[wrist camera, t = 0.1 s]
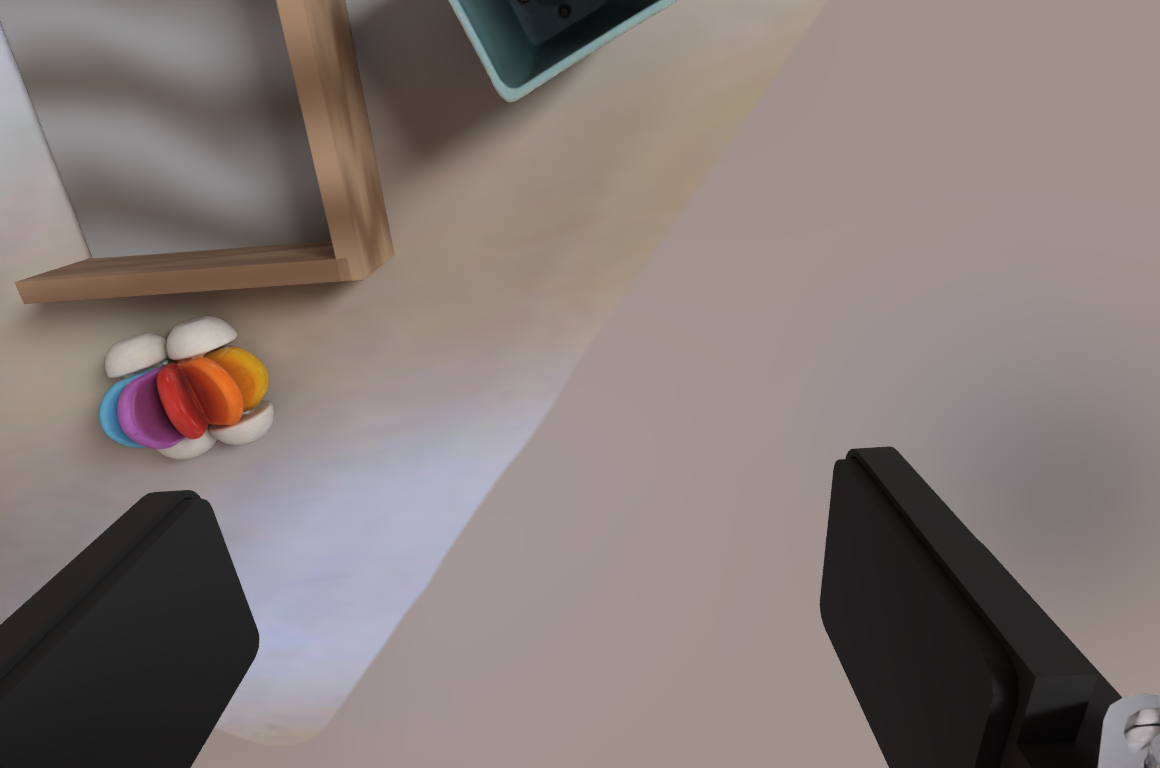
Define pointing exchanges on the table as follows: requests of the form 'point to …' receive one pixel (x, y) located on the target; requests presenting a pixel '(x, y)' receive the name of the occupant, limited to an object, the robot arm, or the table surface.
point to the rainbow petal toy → (185, 391)
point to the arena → (202, 143)
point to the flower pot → (543, 35)
